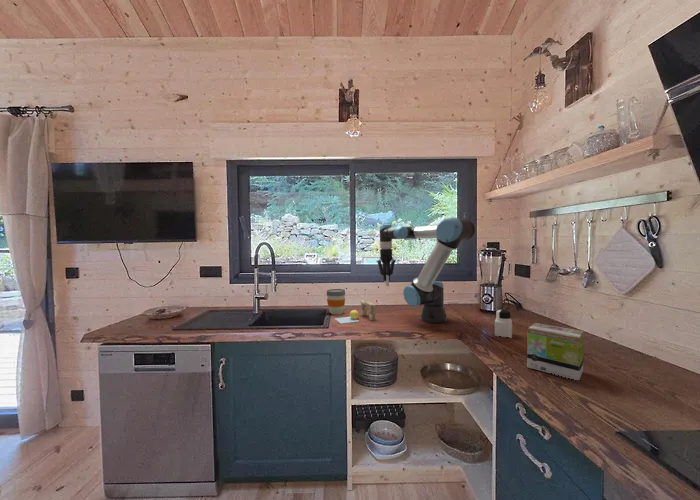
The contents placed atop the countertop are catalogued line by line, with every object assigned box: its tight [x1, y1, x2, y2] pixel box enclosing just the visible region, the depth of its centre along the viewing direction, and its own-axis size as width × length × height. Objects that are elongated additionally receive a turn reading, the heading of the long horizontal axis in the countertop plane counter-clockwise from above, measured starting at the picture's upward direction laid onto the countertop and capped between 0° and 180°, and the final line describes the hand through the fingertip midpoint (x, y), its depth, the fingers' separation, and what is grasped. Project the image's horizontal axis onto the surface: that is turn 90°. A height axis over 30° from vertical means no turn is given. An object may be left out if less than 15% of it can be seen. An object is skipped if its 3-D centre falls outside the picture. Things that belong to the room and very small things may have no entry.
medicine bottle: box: [494, 309, 513, 339], centre depth 139 cm, size 7×7×12 cm
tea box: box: [526, 322, 585, 381], centre depth 100 cm, size 15×10×15 cm, turn 45°
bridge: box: [360, 300, 376, 321], centre depth 177 cm, size 3×14×9 cm, turn 21°
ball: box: [349, 309, 360, 320], centre depth 173 cm, size 6×6×6 cm
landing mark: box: [333, 316, 360, 325], centre depth 172 cm, size 12×12×1 cm
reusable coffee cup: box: [326, 288, 346, 315], centre depth 190 cm, size 13×13×15 cm
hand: (386, 285), depth 181 cm, fingers closed
